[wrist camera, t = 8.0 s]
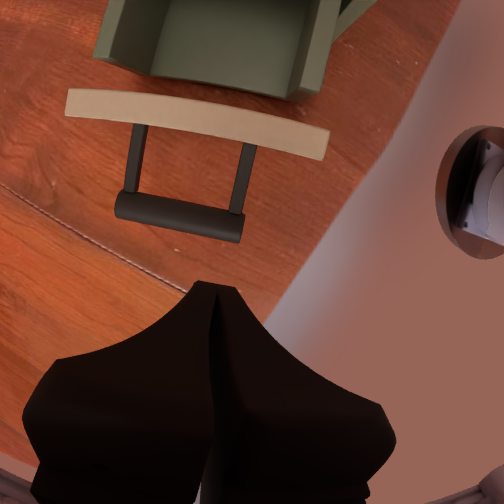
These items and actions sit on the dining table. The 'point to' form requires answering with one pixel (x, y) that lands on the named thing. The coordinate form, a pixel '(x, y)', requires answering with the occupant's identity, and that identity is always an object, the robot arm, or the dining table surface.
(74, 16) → the dining table surface
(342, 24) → the cabinet
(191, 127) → the drawer
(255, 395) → the robot arm
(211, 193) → the dining table surface
